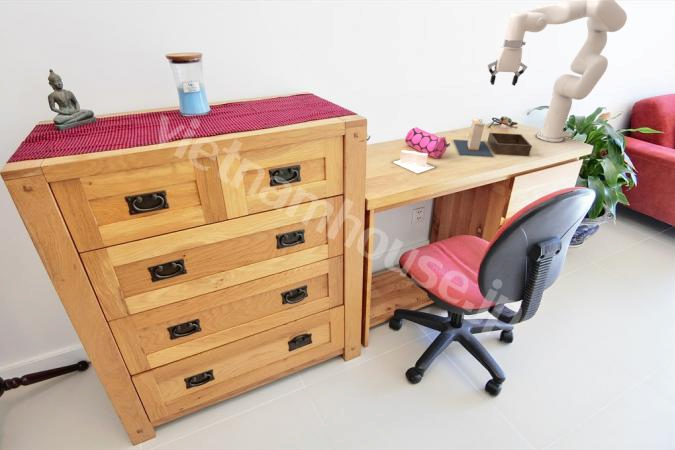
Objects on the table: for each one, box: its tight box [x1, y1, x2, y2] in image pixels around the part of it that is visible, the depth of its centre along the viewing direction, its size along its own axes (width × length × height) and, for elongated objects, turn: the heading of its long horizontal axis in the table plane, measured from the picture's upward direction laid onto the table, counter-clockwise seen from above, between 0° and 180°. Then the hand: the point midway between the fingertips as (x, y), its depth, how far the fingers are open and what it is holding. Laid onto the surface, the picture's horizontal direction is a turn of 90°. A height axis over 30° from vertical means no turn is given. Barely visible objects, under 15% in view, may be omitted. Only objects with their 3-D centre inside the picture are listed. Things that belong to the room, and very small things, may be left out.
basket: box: [486, 132, 533, 157], centre depth 181 cm, size 16×17×5 cm
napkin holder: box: [392, 149, 435, 174], centre depth 162 cm, size 15×11×6 cm
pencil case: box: [404, 126, 451, 159], centre depth 175 cm, size 21×10×10 cm, turn 35°
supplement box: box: [467, 118, 485, 151], centre depth 178 cm, size 8×5×13 cm, turn 169°
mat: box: [453, 139, 494, 158], centre depth 182 cm, size 15×20×1 cm
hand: (502, 84), depth 174 cm, fingers open, 9 cm apart
